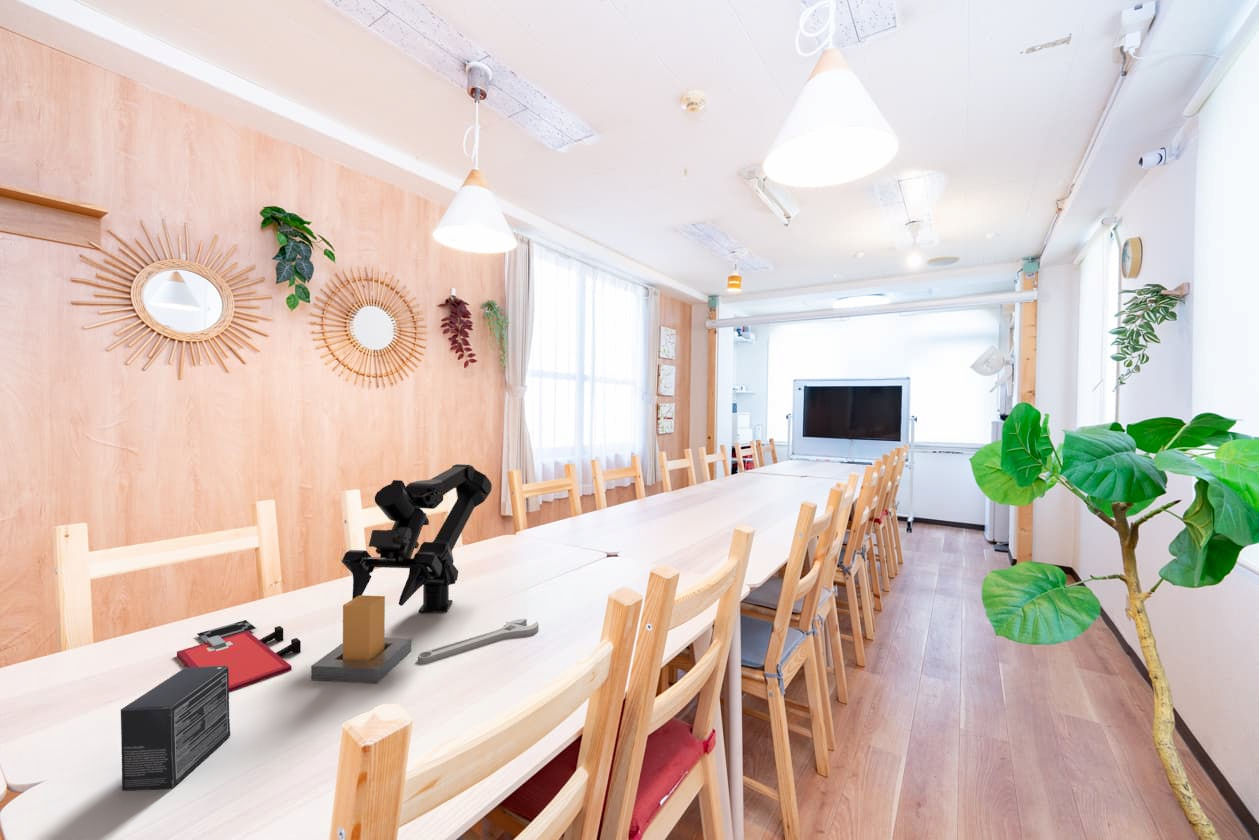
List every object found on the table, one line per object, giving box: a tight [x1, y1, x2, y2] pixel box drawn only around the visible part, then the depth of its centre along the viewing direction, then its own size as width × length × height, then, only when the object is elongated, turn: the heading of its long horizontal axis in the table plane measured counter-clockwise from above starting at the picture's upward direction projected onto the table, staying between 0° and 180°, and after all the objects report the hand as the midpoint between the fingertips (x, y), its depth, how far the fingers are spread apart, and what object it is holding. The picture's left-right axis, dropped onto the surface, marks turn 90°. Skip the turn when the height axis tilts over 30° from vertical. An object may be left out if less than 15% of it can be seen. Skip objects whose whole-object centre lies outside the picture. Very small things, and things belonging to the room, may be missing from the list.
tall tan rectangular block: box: [342, 594, 386, 661], centre depth 95 cm, size 5×5×12 cm
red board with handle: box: [176, 619, 302, 693], centre depth 99 cm, size 30×3×15 cm
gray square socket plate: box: [310, 636, 413, 684], centre depth 95 cm, size 12×12×2 cm
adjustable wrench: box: [417, 618, 539, 664], centre depth 105 cm, size 25×6×2 cm, turn 127°
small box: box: [119, 666, 231, 792], centre depth 68 cm, size 11×6×10 cm, turn 5°
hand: (377, 603), depth 99 cm, fingers open, 9 cm apart
